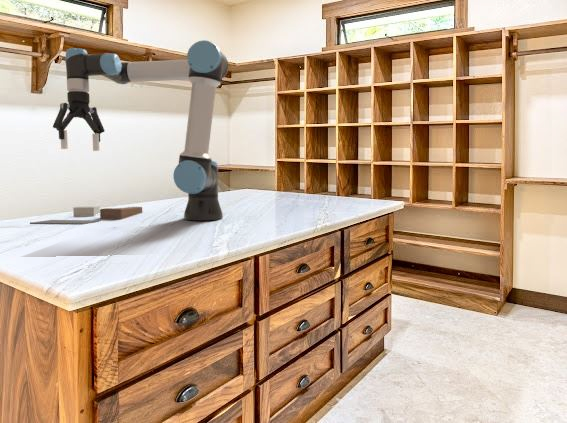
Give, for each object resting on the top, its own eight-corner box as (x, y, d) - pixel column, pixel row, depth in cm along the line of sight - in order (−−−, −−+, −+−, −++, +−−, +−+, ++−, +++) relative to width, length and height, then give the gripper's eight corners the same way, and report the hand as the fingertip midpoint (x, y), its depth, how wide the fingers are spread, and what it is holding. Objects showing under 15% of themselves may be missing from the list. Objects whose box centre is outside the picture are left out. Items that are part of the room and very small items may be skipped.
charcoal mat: (100, 221, 181) (100, 220, 181) (82, 224, 168) (82, 223, 168) (51, 220, 183) (51, 219, 183) (29, 223, 171) (29, 222, 170)
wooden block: (99, 208, 186) (123, 206, 204) (99, 220, 186) (123, 217, 204) (120, 209, 184) (142, 206, 202) (121, 220, 185) (142, 217, 202)
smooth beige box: (99, 218, 200) (99, 206, 200) (94, 219, 192) (93, 207, 192) (80, 218, 200) (80, 206, 199) (73, 219, 192) (73, 207, 191)
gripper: (99, 98, 189) (101, 151, 190) (40, 87, 167) (43, 148, 168) (112, 96, 185) (114, 150, 186) (53, 85, 163) (56, 147, 165)
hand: (80, 149), depth 177 cm, fingers open, 13 cm apart
